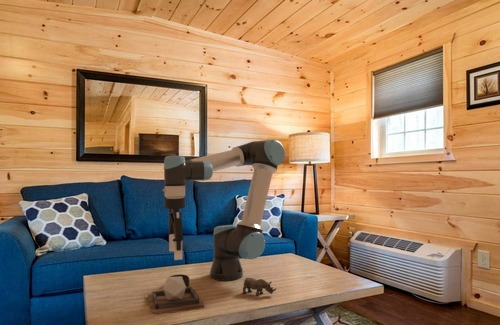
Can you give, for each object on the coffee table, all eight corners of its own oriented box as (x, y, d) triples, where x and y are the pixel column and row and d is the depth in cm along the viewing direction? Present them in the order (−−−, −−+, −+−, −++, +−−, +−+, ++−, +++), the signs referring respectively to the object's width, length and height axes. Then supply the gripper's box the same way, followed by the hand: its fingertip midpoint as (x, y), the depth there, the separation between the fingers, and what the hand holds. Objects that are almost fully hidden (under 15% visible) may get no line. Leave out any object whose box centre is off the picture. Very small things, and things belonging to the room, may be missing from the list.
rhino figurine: (274, 298, 132) (274, 282, 132) (241, 293, 137) (241, 278, 138) (277, 295, 136) (277, 279, 136) (245, 290, 141) (245, 275, 141)
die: (177, 306, 123) (192, 281, 128) (156, 294, 124) (171, 269, 128) (177, 306, 131) (191, 282, 135) (157, 295, 131) (171, 271, 135)
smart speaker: (168, 291, 142) (168, 281, 142) (167, 284, 150) (167, 274, 150) (190, 288, 144) (190, 279, 144) (188, 282, 152) (188, 273, 153)
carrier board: (147, 297, 134) (147, 290, 134) (194, 291, 140) (194, 285, 140) (151, 315, 117) (151, 307, 117) (204, 307, 123) (204, 300, 123)
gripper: (160, 195, 140) (161, 249, 140) (168, 200, 117) (169, 264, 116) (179, 195, 143) (180, 247, 142) (191, 199, 119) (192, 262, 119)
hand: (175, 255), depth 129 cm, fingers open, 13 cm apart
